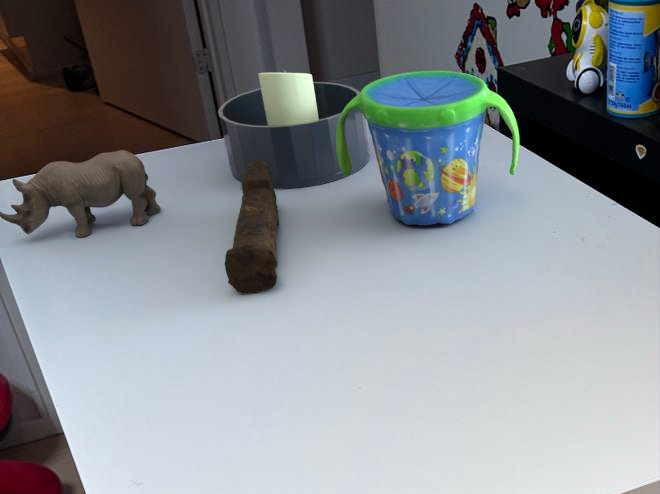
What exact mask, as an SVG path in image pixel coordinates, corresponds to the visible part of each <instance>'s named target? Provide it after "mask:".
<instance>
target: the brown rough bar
mask: <svg viewBox="0 0 660 494" xmlns="http://www.w3.org/2000/svg"><path fill="white" fill-rule="evenodd" d="M240 183H241V191H242V196H241V205H240V208H239V213H238V217H237V221H236V226H235V231H234V236H233V243H232V248H230V249H228V250H227V251H226V254H225V259H224V269H225V274H226V276H227V278H228V281H227V284H229V285H230V286H231V287H232V288H233V289H234V290H235V291H236V292H237V293H240V294H242V295H244V294H255V293H256V294H257V293H260V292H263V291H267V290H270V289H272V288H274V286H276V284H277V280H278V274H277V272H276V270H277V268H278V265H279V264H278V258H277V256H276V255H277V228H278V226H279V225H280V217H279V209H278V203H277V194H276V193H277V192H276V191H275V188H274V187H273V182H272V177H271V173H270V169H269V166H268V165H267V164H266V162H264V161H262V160H257V161H255V162H252V163H250V164H249V165H248V166H247V169H246V171H245V173H244V174H243V176H242V182H240Z"/></svg>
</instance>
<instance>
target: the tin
mask: <svg viewBox="0 0 660 494" xmlns="http://www.w3.org/2000/svg"><path fill="white" fill-rule="evenodd" d="M313 85H314V92H315V98H316V104H317V111H318V117H319V120H315V121H311V122H306V123H299V124H292V125H279V126H268V123H267V118H266V113H265V108H264V102H263V97H262V92H261V87H259V88H255V89H252V90H249V91H246V92H243V93H239V94H238V95H236V96H234V97H231V98H229V99H228V100H227V101H225V102H224V103H222V104H221V106H220V107H219V109H218V110H217V112H218V117H219V122H220V127H221V131H222V135H223V140H224V145H225V149H226V154H227V158H228V163H229V167H230V173H231V174H232V176H233V178H234V179H235V180H237V181H238V182H240V183H241V182H242V176H243V174H244V173H245V171H246V169H247V166H248V165H249V164H250V163H252V162H255V161H257V160H262V161H264V162H266V164H267V165H268V166H269V169H270V173H271V177H272V182H273V187H274V189H281V190H282V189H297V188H307V187H314V186H320V185H323V184H327V183H331V182H335V181H338V180H341V179H344V178H346V177H347V176H345V175H344V174H343V173H342V171H341V168H340V166H339V162H338V158H337V152H336V130H337V124H338V121H339V118H340V116H341V113H342V111H343V110H344V108H345V107H346V106H347V104H348V103H349V102H350V101H351V100H352V99H353V98H354V97H356V96H357V95H359V94H360V92H361V91H360V90H358V89H356V88H354V87H352V86H349V85H346V84H342V83H336V82H335V83H334V82H328V81H327V82H326V81H313ZM366 122H367V121H366V119H365V117H364V115H363V114H362V112H361V111H360V110H358V109H355V108H354V109H353V110H352V111H351V112H350V113H349V114H348V116H347V118H346V124H345V131H344V134H345V138H346V142H347V146H348V150H349V154H350V159H351V162H352V171H351V174H350V175H349V176H351V175H353V174H355V173H357V172H359V171H360V170H362V169H363V168H364V166H366V165H367V163H368V162H369V159H370V147H369V138H368V131H367V123H366Z"/></svg>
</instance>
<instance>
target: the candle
mask: <svg viewBox="0 0 660 494" xmlns="http://www.w3.org/2000/svg"><path fill="white" fill-rule="evenodd" d="M257 75H258V80H259V85H260V88H261V92H262V97H263V102H264V108H265V113H266V118H267V123H268V126H279V125H292V124H299V123H306V122H311V121H315V120H319V117H318V111H317V104H316V98H315V92H314V85H313V82H314V80H313V75H312V73H311V74H310V73H306V72H305V73H304V72H287V71H286V69H283V72H258V74H257Z"/></svg>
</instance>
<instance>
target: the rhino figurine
mask: <svg viewBox="0 0 660 494" xmlns="http://www.w3.org/2000/svg"><path fill="white" fill-rule="evenodd" d="M148 180H149V175H148V173H147V172H146V168H145V165H144V163H143V161H142V160H141V159H140V158H139V157H138V156H137V155H135V154H134V153H132V152H129V151H128V150H124V149H120V150H116V151H109V152H102V153H98V154H97V155H95V156H93V157H92V158H90V159H88V160H84V161H82V162H70V161H66V160H65V161H64V160H58V161H52V162H49V163H47V164H46V165H44V166H43V167H42V168H40V170H39V171H37V173H36V174H34V175H33V177H32V178H30V179H29V180H28V181H27V182H23V181H21V180H18V179H15V178H12V184H13V186H14V187H15V189H16V190H17V191H18V192H19V193H21V194H22V203H21V204H10V207H11V209H13V210H14V211H15V213H13V214H8V213H3V212H2V211H0V218H1V219H2V220H3V221H6V222H9V223H10V224H13V225H15V226H16V225H17V226H19V227H20V228H21V231H23V232H24V233H25V234H26V235H30V234H32V233H33V232H35V230H38V228H40V226H41V225H43V224H44V223H45V222H46V220H47V219H48V218H49V216H50V210H51V208H57V207H63V208H66V210H67V211H68V213H69V215H70V216H72V217H73V219H74V221H75V222H76V229H75V233H74V234H75V237H76V238H84V237H87V236H89V235H90V234H91V233H92V228H91V226H92V225H94V224H95V223H96V221H97V217H96V215H94V214H93V213H92V209H91V208H95V209H97V208H98V209H100V208H101V209H102V208H107V207H110V206H112V205H114V204H115V203H116V202H118V201H119V200H120V198H122V196H125V198H127V199H128V200H130V202H131V206H132V215H131V217H130V218H129V223H130V225H131V226H142V225H144V224H145V223H147V222H148V221H149V216H148V215H153V214H156V213H158V212H160V211H161V209H162V207H161V206H160V205H159V204H158V203H157V201H156V200H157V199H156V197H157V193H156V191H155V189H153V188H152V187H150V186H149V185H148V184H147V183H148Z"/></svg>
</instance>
